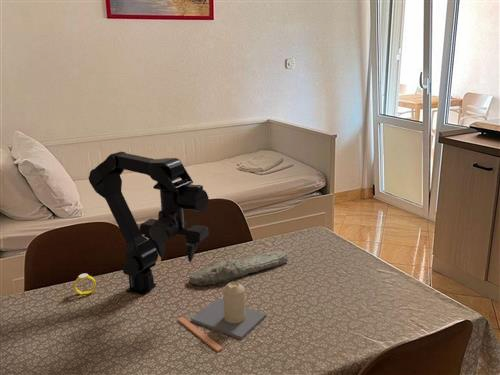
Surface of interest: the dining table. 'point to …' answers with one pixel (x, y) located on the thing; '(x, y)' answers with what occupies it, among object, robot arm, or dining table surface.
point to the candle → (234, 302)
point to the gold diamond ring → (82, 277)
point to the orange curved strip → (200, 334)
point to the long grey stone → (237, 268)
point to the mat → (215, 320)
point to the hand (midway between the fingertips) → (175, 258)
